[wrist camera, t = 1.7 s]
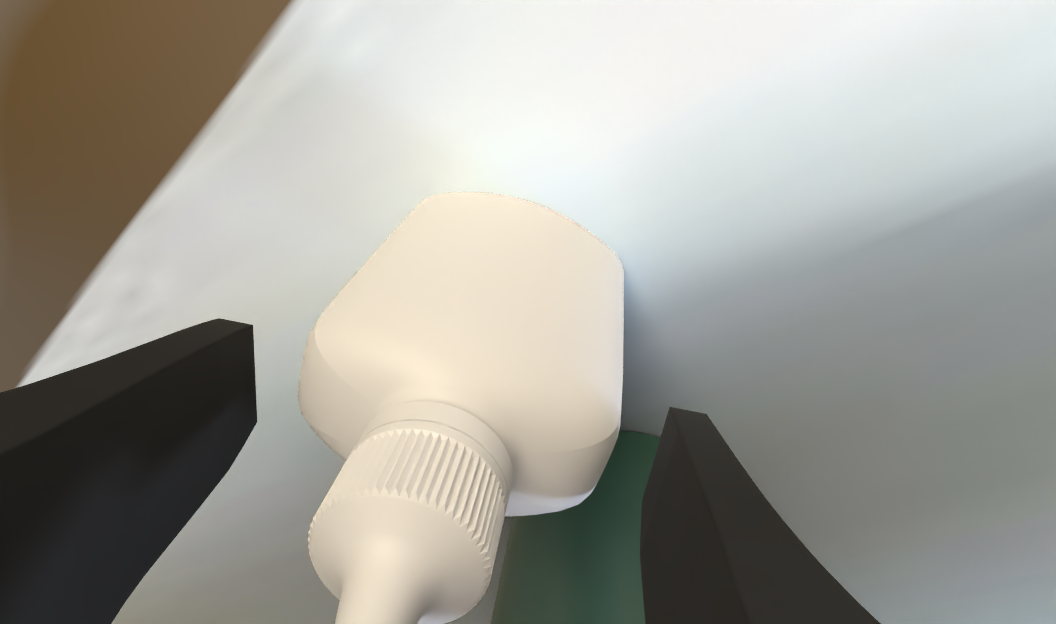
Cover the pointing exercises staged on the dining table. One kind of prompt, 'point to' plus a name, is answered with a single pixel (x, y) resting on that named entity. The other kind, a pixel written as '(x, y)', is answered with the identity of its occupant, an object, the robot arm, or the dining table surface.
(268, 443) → the dining table surface
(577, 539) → the green tin can
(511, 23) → the dining table surface
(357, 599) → the eye dropper bottle
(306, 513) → the dining table surface
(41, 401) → the robot arm
